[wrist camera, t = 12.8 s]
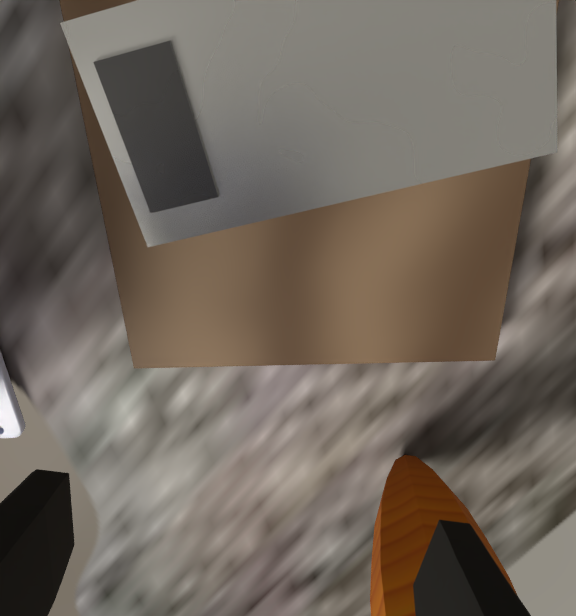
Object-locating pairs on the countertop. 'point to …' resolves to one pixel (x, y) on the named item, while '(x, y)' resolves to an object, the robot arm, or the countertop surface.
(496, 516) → the countertop surface
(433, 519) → the carrot
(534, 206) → the countertop surface
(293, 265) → the lock board
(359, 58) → the cap
